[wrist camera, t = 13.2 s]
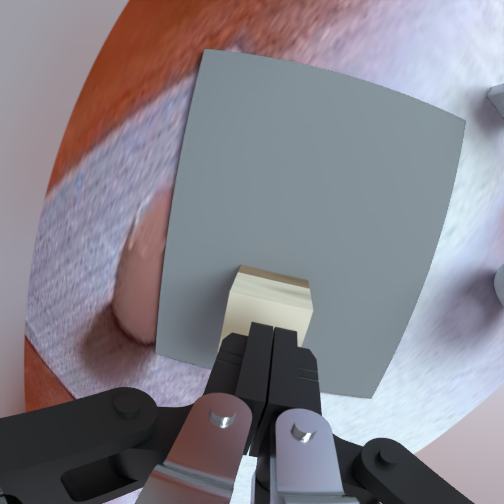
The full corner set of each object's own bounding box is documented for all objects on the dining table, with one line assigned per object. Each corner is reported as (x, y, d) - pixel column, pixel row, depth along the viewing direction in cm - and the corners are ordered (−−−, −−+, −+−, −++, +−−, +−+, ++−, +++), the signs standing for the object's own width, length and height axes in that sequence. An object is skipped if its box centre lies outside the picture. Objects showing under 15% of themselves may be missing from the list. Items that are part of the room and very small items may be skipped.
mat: (206, 50, 24) (204, 48, 23) (463, 121, 23) (465, 120, 22) (157, 350, 32) (155, 353, 32) (370, 395, 31) (371, 398, 31)
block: (216, 359, 24) (228, 323, 30) (291, 375, 24) (290, 337, 30) (229, 291, 22) (241, 264, 28) (313, 310, 22) (308, 280, 28)
